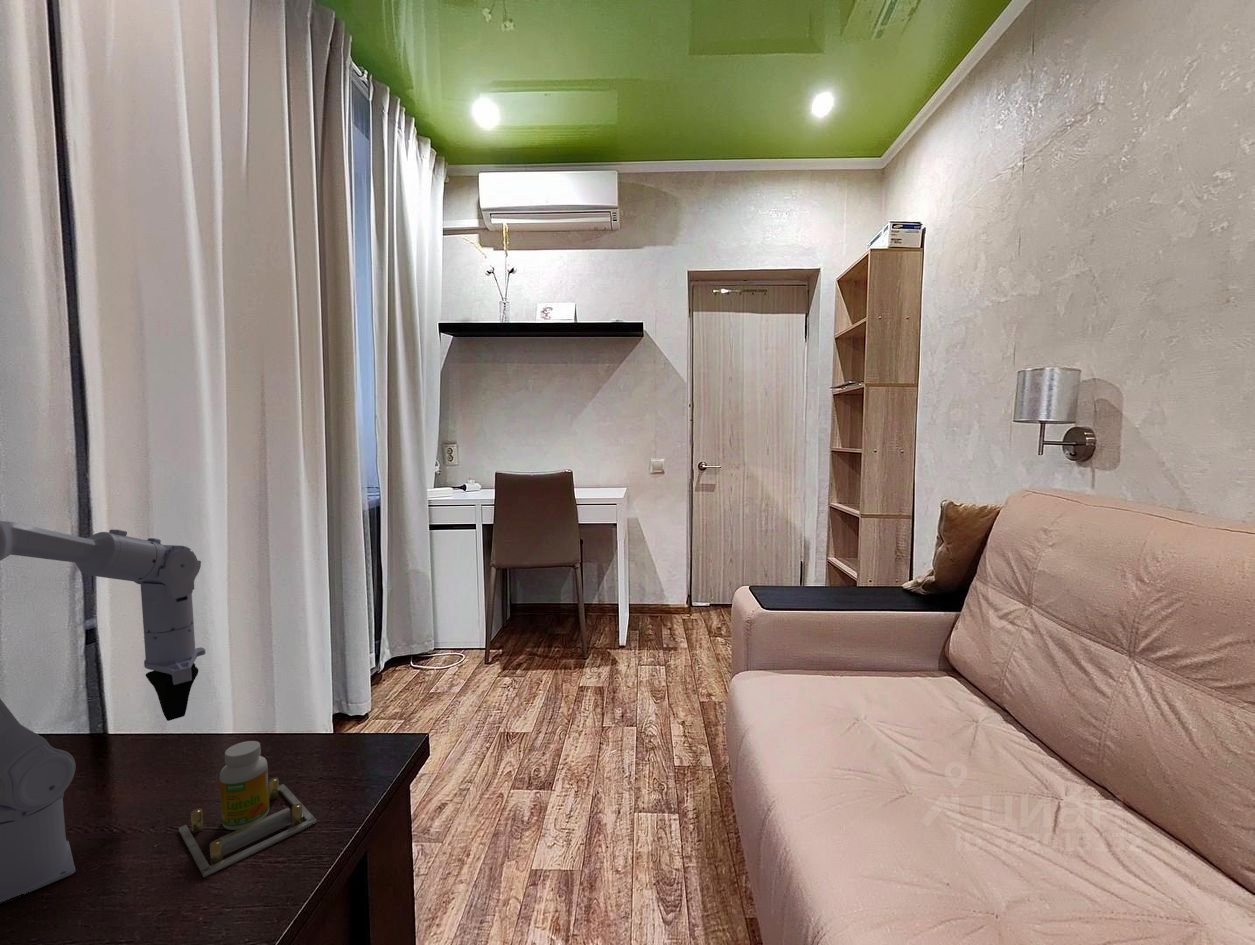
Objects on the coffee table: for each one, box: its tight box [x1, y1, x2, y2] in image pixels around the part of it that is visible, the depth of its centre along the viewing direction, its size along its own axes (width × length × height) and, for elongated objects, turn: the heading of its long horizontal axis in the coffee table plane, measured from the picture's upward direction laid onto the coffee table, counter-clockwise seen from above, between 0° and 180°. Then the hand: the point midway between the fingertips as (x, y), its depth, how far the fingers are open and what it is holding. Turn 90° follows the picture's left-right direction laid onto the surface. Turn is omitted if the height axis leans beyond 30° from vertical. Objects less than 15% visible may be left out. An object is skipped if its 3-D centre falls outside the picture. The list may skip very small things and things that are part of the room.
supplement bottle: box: [219, 740, 270, 831], centre depth 78 cm, size 5×5×10 cm
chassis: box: [178, 777, 317, 878], centre depth 76 cm, size 12×12×2 cm
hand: (175, 717), depth 85 cm, fingers closed
